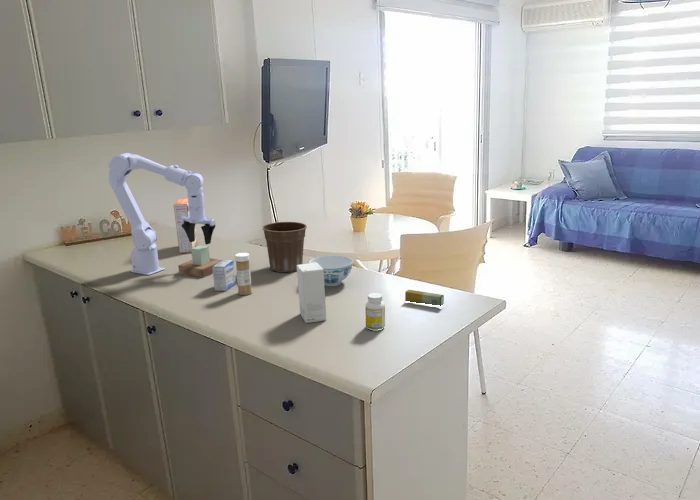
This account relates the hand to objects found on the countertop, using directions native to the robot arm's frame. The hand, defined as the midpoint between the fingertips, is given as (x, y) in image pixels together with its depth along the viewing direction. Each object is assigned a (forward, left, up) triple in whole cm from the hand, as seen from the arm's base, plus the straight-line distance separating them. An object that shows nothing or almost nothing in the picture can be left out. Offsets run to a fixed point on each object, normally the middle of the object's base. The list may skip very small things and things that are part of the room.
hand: (200, 242), depth 210 cm
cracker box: (-26, +20, -11) cm, 34 cm away
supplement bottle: (+82, -21, -11) cm, 85 cm away
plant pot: (+28, +15, -11) cm, 33 cm away
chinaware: (+52, +7, -11) cm, 54 cm away
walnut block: (+1, -1, -10) cm, 11 cm away
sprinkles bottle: (+31, -14, -11) cm, 36 cm away
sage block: (+1, -1, -7) cm, 8 cm away
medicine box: (+21, -12, -11) cm, 27 cm away
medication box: (+88, +1, -11) cm, 89 cm away
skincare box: (+62, -22, -11) cm, 67 cm away
